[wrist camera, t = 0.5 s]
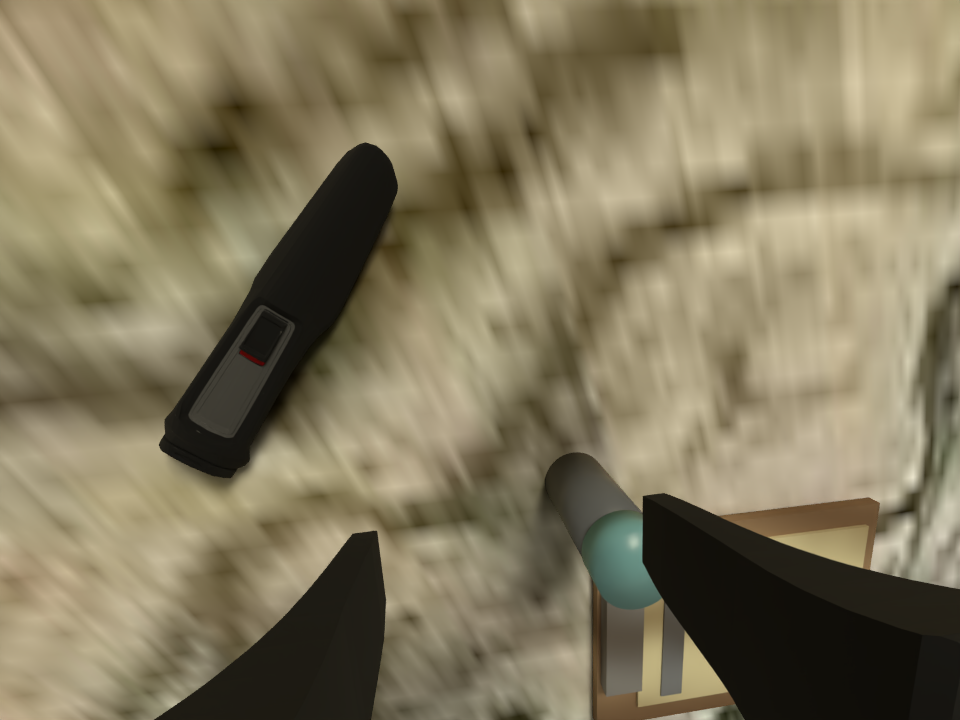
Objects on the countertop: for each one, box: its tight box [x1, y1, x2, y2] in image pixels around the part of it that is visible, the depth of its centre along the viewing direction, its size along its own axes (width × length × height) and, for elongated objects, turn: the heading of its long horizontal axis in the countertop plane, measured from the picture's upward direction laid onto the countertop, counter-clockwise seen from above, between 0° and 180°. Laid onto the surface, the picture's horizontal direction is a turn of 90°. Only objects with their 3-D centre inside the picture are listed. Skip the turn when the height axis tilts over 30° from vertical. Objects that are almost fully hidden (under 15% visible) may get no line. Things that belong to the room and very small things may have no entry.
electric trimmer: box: [159, 143, 398, 478], centre depth 18 cm, size 4×15×3 cm, turn 145°
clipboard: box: [593, 498, 880, 720], centre depth 25 cm, size 12×16×1 cm
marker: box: [545, 452, 662, 610], centre depth 20 cm, size 3×3×7 cm
